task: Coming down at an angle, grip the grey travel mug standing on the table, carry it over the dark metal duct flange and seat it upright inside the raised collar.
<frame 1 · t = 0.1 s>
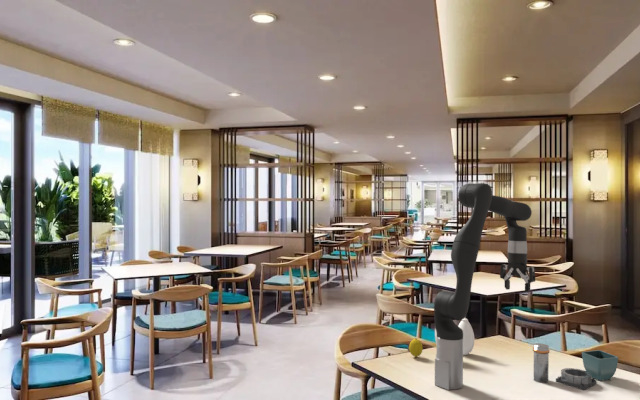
hand: (517, 290, 202), 29 cm above the table, tool pointing down, fingers open, 8 cm apart
flower pot: (599, 378, 183), on the table
lemon: (415, 357, 205), on the table
duct flange: (576, 382, 178), on the table
grey travel mug: (540, 380, 180), on the table
sauce bottle: (464, 354, 210), on the table
beer glass: (443, 359, 204), on the table
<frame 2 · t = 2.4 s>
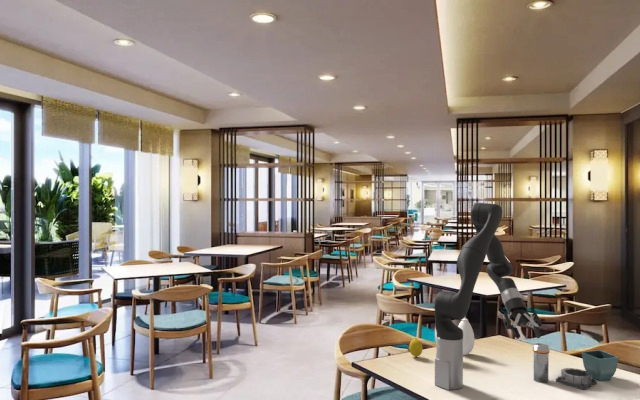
hand: (529, 337, 188), 14 cm above the table, tool tilted 45°, fingers open, 8 cm apart
nothing on the table moved.
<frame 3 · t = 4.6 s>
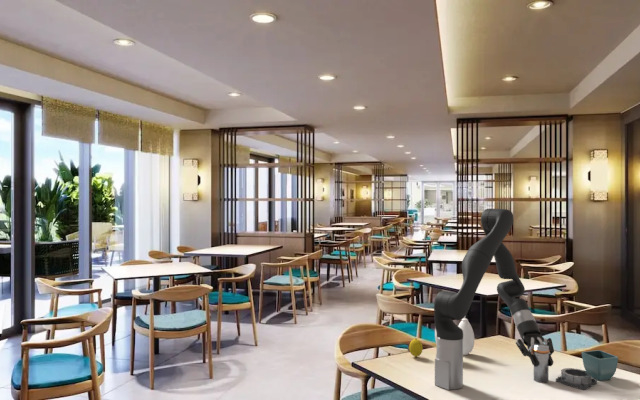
hand: (544, 365, 178), 6 cm above the table, tool tilted 45°, fingers closed on grey travel mug, 5 cm apart
grey travel mug: (541, 380, 180), on the table, touching gripper
everything else where it was.
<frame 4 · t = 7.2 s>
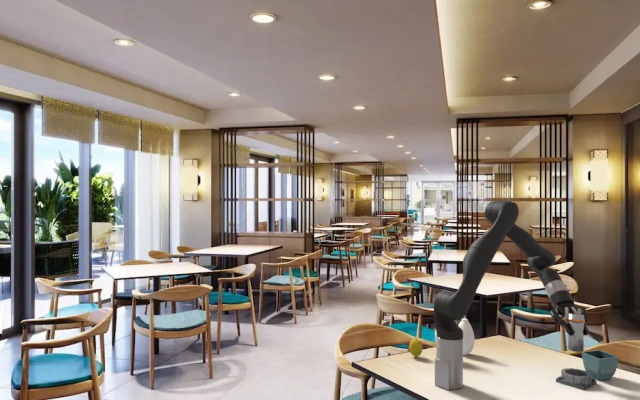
hand: (579, 334, 176), 18 cm above the table, tool tilted 45°, fingers closed on grey travel mug, 5 cm apart
grey travel mug: (575, 349, 178), point 12 cm above the table, touching gripper
everything else where it was.
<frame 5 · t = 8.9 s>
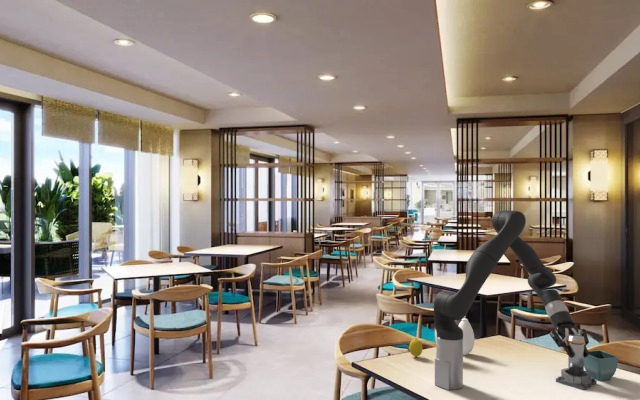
hand: (579, 356, 176), 10 cm above the table, tool tilted 45°, fingers closed on grey travel mug, 5 cm apart
grey travel mug: (575, 371, 178), point 4 cm above the table, touching gripper
everything else where it was.
when the fingers open (9 cm above the table, at t = 9.9 s): grey travel mug drops 1 cm, resting on duct flange.
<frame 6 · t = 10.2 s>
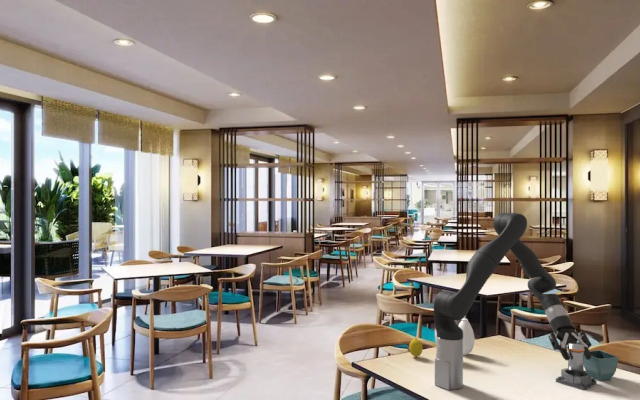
hand: (578, 359, 176), 9 cm above the table, tool tilted 45°, fingers open, 8 cm apart
grey travel mug: (575, 379, 178), point 1 cm above the table, touching duct flange
everything else where it was.
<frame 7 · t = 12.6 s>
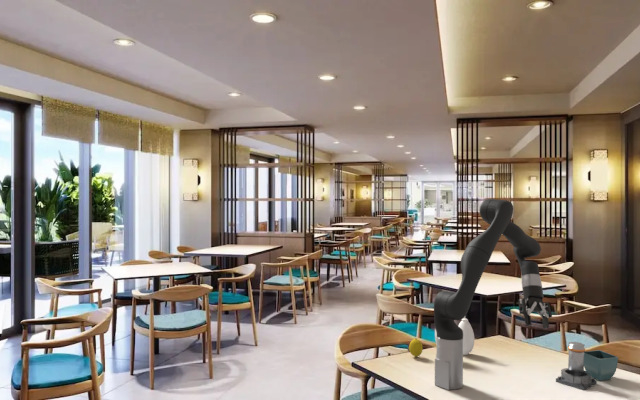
hand: (537, 326, 193), 16 cm above the table, tool tilted 25°, fingers open, 8 cm apart
nothing on the table moved.
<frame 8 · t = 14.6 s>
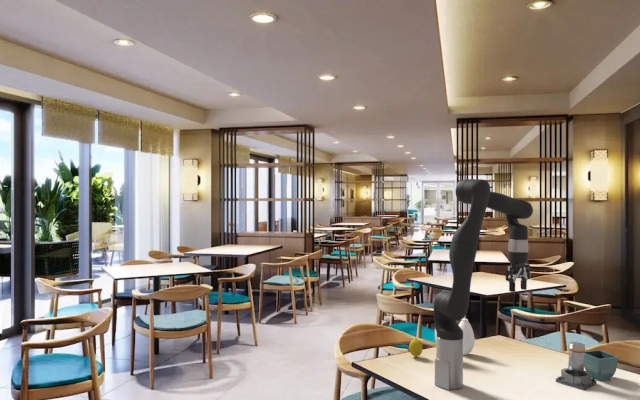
hand: (518, 290, 197), 30 cm above the table, tool pointing down, fingers open, 8 cm apart
nothing on the table moved.
at the end: grey travel mug 0.2 cm off-centre on the duct flange, point 1.3 cm above the duct flange's base; grey travel mug tilted 2°; the gripper is holding nothing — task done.
